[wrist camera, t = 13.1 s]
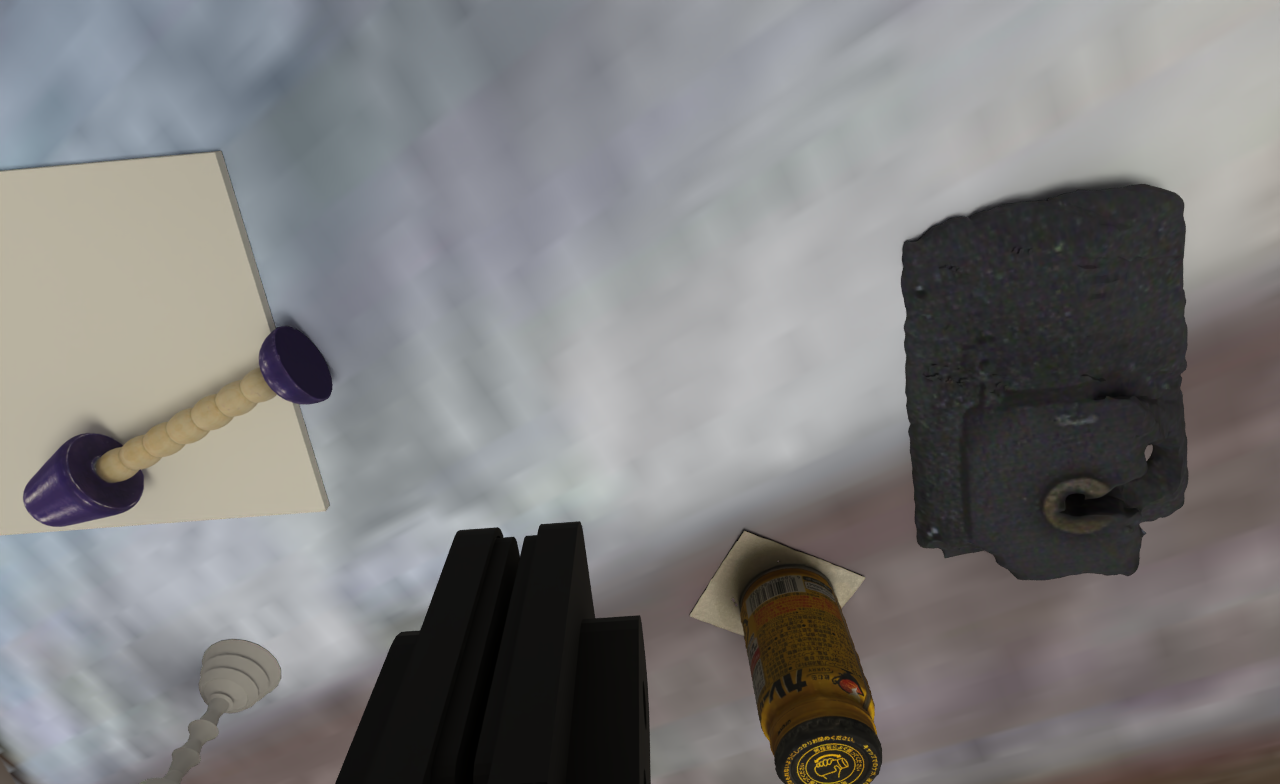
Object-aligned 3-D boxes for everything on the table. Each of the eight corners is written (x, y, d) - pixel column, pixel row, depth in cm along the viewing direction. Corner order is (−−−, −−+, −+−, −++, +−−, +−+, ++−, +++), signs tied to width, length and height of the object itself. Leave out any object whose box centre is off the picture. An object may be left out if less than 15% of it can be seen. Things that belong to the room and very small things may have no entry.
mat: (-225, 190, 36) (-238, 193, 36) (221, 151, 36) (214, 152, 35) (-35, 532, 45) (-43, 538, 44) (329, 505, 44) (325, 511, 44)
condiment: (804, 656, 49) (852, 830, 39) (689, 614, 48) (704, 782, 37) (864, 575, 47) (934, 737, 36) (743, 527, 45) (778, 682, 34)
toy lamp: (327, 423, 37) (53, 560, 39) (349, 382, 42) (100, 508, 43) (263, 344, 35) (-23, 494, 37) (293, 309, 39) (34, 445, 41)
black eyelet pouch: (1203, 152, 36) (1278, 168, 32) (1169, 522, 46) (1224, 572, 41) (884, 221, 38) (916, 244, 34) (913, 566, 47) (941, 620, 43)
